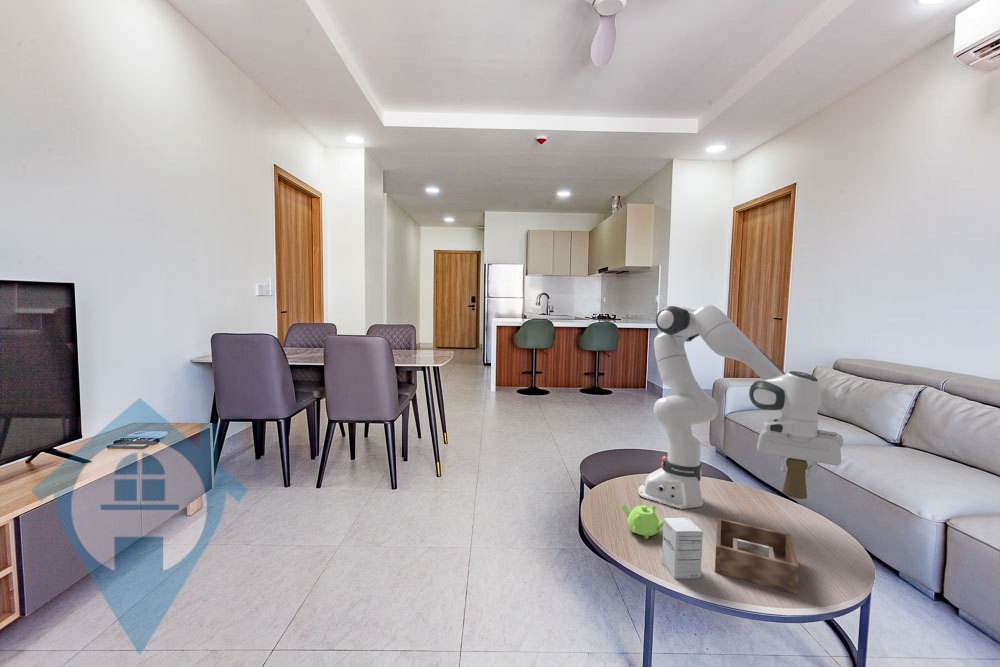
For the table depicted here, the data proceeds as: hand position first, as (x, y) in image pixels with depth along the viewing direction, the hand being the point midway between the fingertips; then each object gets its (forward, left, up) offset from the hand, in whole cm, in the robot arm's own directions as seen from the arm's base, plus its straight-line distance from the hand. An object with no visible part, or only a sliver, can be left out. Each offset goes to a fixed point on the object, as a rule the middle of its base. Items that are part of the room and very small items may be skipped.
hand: (795, 473), depth 125 cm
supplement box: (-28, -31, -22) cm, 47 cm away
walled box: (-11, -18, -22) cm, 30 cm away
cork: (0, 0, -7) cm, 7 cm away
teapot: (-40, -15, -22) cm, 48 cm away
